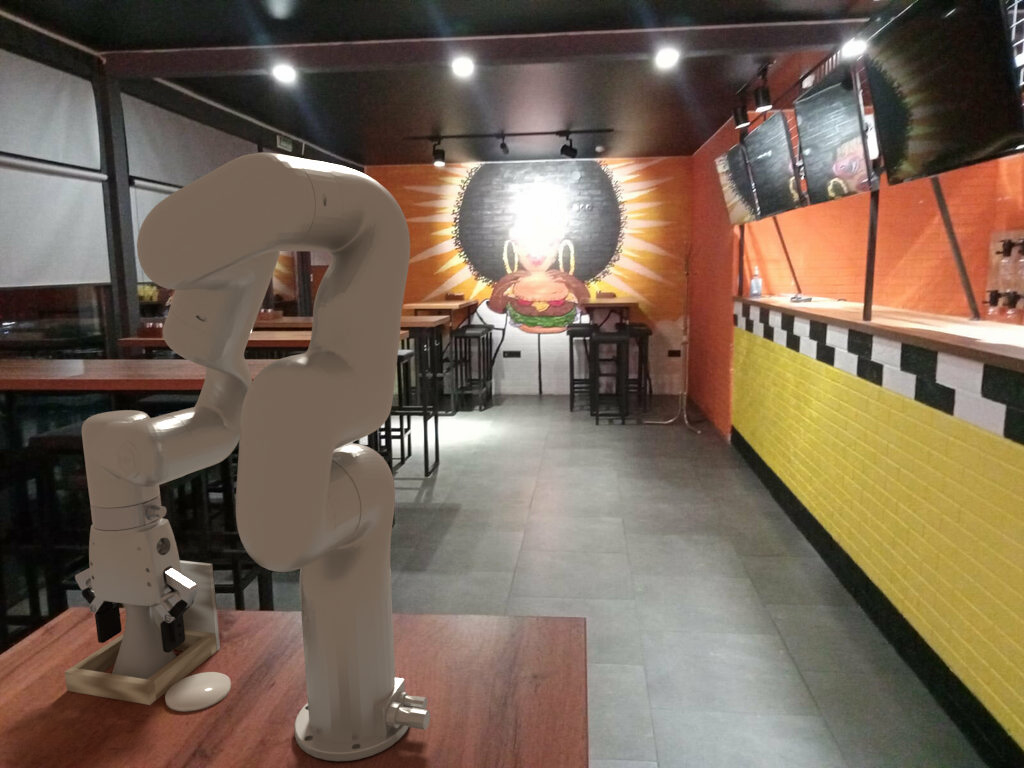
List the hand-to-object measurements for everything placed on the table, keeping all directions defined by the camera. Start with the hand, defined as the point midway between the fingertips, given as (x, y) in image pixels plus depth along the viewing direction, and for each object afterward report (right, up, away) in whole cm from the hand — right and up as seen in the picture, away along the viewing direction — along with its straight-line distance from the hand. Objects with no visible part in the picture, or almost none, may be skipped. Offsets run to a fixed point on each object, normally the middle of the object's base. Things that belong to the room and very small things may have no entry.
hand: (142, 642), depth 90 cm
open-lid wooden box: (0, -4, +1) cm, 4 cm away
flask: (0, -4, +1) cm, 4 cm away
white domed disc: (+9, -5, -4) cm, 11 cm away
